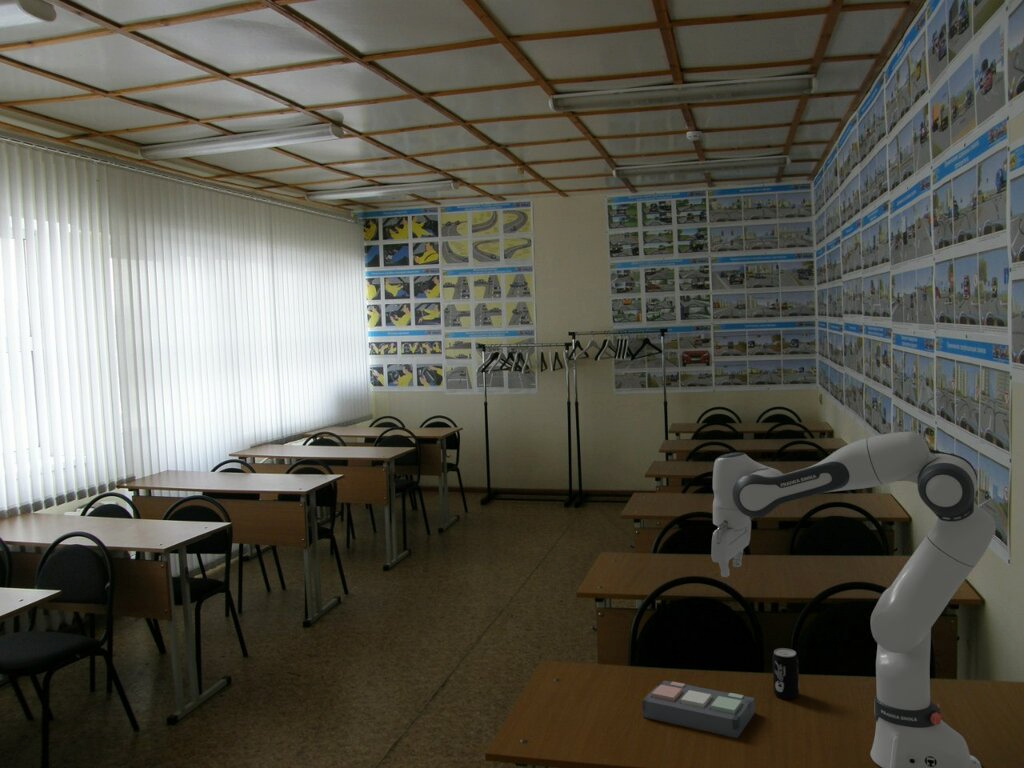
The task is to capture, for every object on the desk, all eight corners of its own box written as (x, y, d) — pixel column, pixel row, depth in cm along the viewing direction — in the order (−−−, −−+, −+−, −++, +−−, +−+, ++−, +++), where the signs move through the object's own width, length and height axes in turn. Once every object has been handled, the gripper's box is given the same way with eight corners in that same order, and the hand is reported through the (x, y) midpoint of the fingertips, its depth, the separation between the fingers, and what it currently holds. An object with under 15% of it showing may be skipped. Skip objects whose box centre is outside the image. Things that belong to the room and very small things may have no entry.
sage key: (741, 708, 210) (741, 700, 210) (734, 717, 205) (734, 710, 205) (718, 703, 213) (718, 695, 213) (711, 712, 208) (710, 705, 208)
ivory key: (711, 701, 214) (711, 694, 214) (703, 711, 209) (703, 703, 209) (689, 697, 217) (689, 690, 217) (681, 706, 212) (680, 699, 212)
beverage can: (800, 701, 220) (799, 657, 219) (775, 700, 221) (773, 656, 220) (797, 690, 226) (796, 647, 225) (772, 689, 227) (771, 647, 227)
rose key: (682, 695, 218) (681, 688, 218) (673, 705, 213) (673, 697, 213) (661, 691, 222) (660, 684, 222) (652, 700, 217) (651, 693, 217)
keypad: (754, 712, 214) (754, 696, 214) (737, 738, 202) (736, 720, 201) (664, 694, 228) (664, 678, 228) (642, 717, 215) (642, 700, 215)
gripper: (730, 527, 195) (730, 584, 196) (755, 510, 212) (755, 562, 213) (704, 524, 198) (705, 580, 199) (731, 507, 215) (731, 559, 216)
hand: (731, 571), depth 206 cm, fingers open, 8 cm apart
